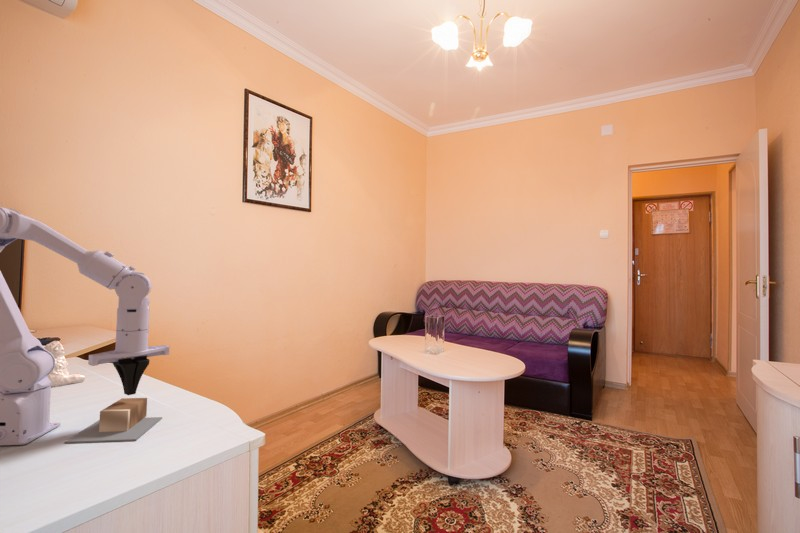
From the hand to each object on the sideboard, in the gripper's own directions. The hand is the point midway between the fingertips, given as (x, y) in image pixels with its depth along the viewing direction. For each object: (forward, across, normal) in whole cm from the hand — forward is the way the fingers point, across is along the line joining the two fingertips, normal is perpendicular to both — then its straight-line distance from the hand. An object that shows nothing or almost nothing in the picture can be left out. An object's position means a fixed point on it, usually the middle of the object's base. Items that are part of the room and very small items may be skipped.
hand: (129, 393), depth 83 cm
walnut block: (+4, -2, -1) cm, 4 cm away
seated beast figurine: (+6, 0, -44) cm, 44 cm away
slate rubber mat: (+6, +3, +3) cm, 7 cm away
